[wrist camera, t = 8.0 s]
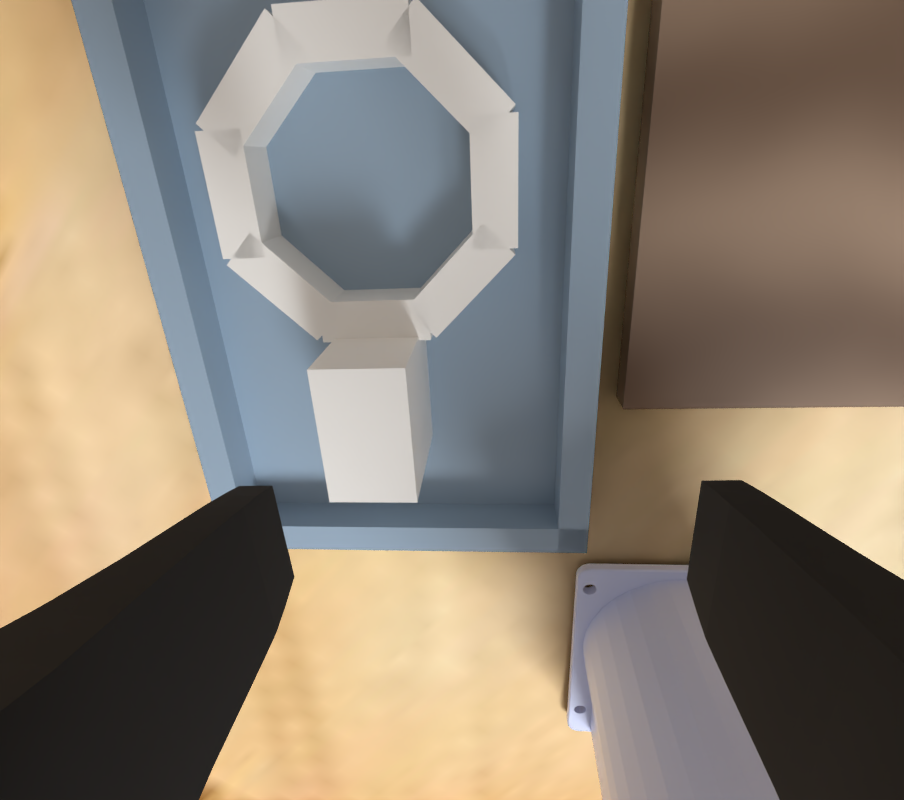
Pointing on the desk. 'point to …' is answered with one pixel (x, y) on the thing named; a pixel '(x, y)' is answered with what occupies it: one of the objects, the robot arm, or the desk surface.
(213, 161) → the ring
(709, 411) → the desk surface
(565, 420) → the tray
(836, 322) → the stake board
